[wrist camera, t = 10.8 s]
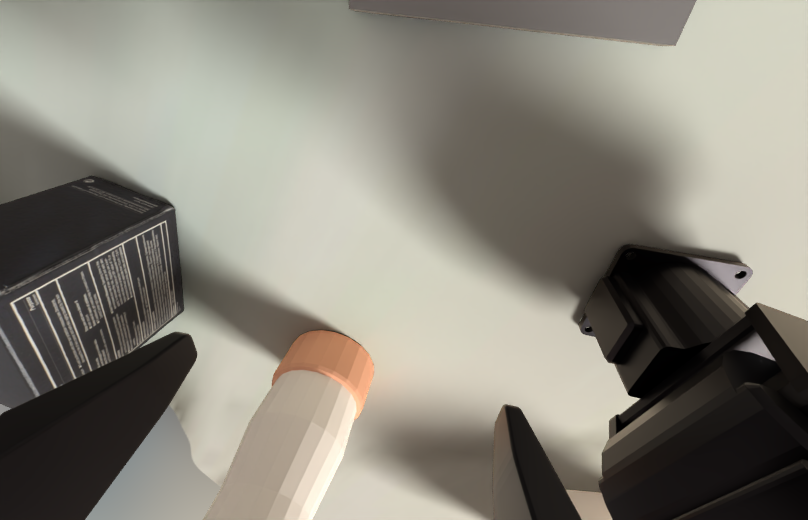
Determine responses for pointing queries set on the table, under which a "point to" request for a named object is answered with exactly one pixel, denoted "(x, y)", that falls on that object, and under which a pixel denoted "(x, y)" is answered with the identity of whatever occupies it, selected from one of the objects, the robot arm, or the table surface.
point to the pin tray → (553, 16)
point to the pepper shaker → (297, 432)
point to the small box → (81, 282)
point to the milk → (589, 505)
